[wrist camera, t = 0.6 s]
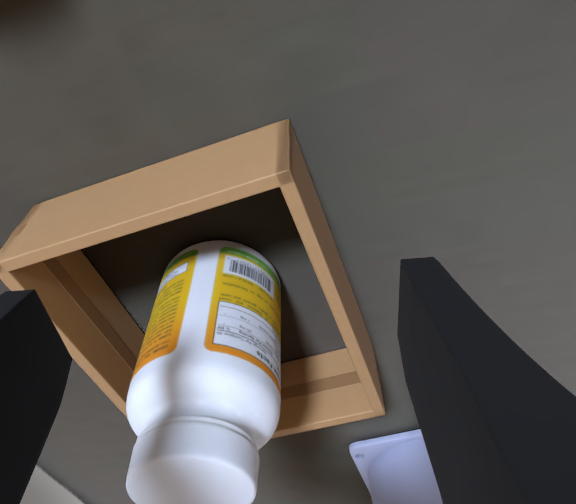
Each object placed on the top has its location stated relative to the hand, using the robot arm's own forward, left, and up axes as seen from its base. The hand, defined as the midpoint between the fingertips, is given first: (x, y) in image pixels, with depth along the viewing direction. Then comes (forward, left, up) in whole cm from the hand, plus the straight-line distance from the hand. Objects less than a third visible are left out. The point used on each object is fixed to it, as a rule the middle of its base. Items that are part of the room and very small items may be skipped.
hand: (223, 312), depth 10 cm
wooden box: (-7, +4, -10) cm, 13 cm away
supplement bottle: (-7, +4, -10) cm, 13 cm away
